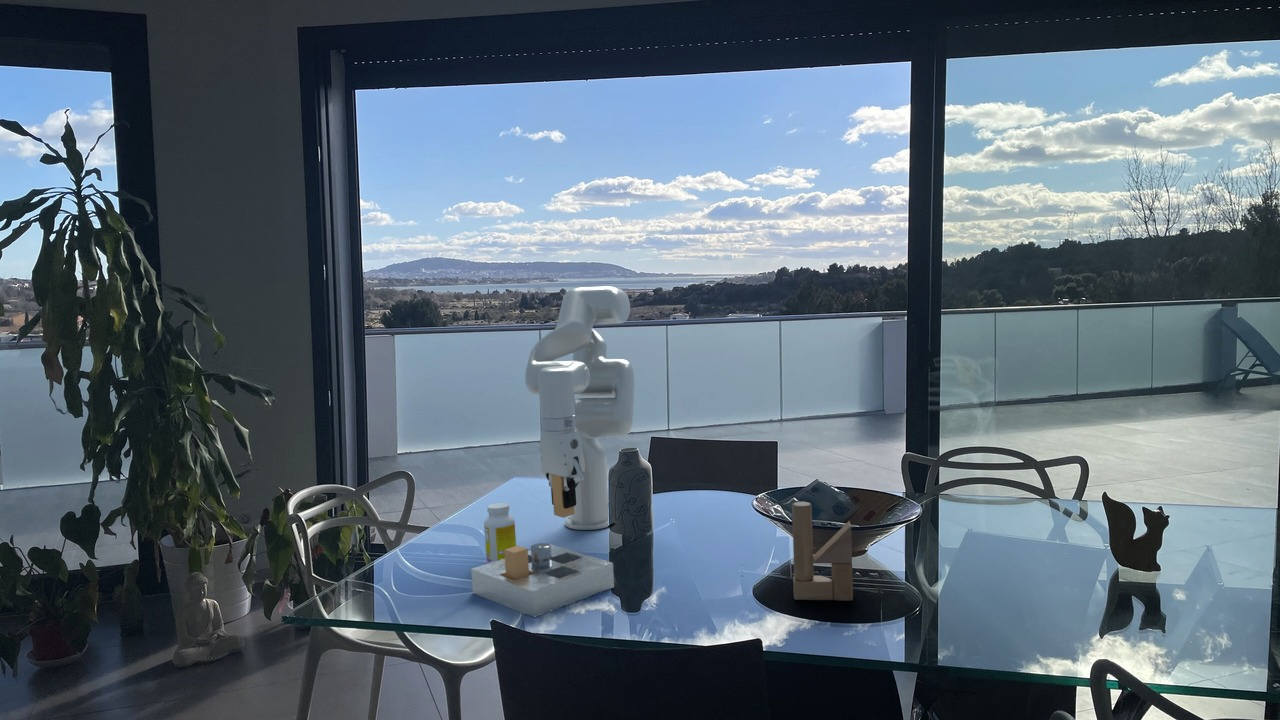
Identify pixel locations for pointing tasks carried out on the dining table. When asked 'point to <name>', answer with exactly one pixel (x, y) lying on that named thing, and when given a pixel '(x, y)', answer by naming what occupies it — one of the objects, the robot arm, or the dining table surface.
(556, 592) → the grey peg hole board
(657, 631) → the dining table surface
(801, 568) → the wooden block structure
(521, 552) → the tall tan wooden post
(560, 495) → the tan square prism
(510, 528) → the supplement bottle
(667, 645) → the dining table surface
